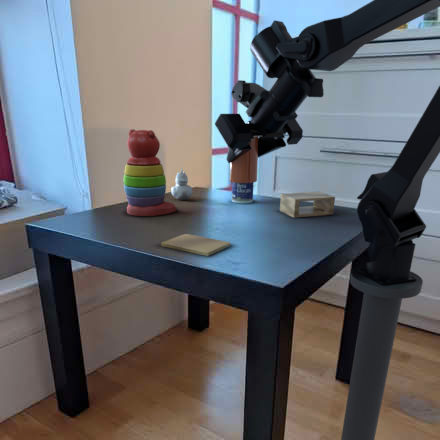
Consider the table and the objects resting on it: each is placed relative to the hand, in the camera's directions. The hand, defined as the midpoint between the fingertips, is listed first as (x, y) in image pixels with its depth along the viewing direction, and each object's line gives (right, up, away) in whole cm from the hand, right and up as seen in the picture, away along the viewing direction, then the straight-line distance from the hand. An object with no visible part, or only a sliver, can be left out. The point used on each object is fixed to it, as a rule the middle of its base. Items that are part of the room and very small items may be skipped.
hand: (239, 160), depth 84 cm
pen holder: (+1, -4, +1) cm, 4 cm away
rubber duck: (-14, -2, +26) cm, 30 cm away
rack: (+16, -8, +12) cm, 22 cm away
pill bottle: (+2, -4, +23) cm, 24 cm away
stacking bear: (-20, -8, +12) cm, 25 cm away
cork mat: (-8, -19, -11) cm, 23 cm away
